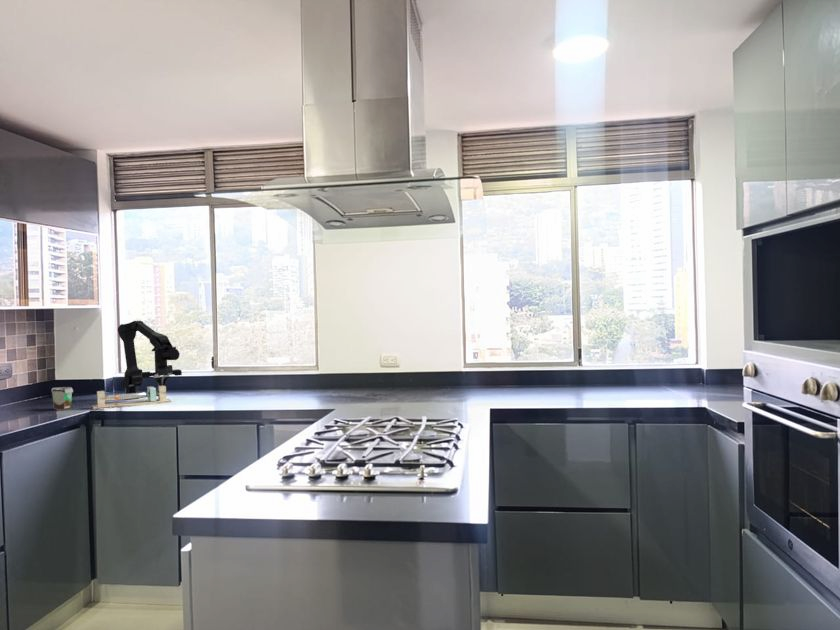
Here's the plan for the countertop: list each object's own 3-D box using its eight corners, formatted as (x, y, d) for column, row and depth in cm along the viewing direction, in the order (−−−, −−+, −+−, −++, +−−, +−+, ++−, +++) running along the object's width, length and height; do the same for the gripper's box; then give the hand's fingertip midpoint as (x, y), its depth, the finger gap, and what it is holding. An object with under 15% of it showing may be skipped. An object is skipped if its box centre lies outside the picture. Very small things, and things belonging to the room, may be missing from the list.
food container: (79, 408, 280) (78, 387, 280) (66, 410, 275) (65, 389, 275) (65, 406, 286) (64, 386, 286) (52, 408, 281) (51, 388, 281)
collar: (147, 398, 297) (147, 386, 297) (153, 398, 298) (152, 386, 298) (150, 401, 287) (150, 388, 287) (156, 400, 289) (155, 388, 288)
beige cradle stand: (92, 407, 281) (91, 391, 281) (168, 399, 299) (167, 384, 299) (93, 410, 273) (92, 393, 273) (171, 402, 291) (170, 386, 291)
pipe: (97, 401, 279) (97, 395, 279) (165, 395, 295) (164, 389, 295) (97, 402, 277) (97, 396, 277) (165, 395, 293) (165, 390, 293)
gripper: (142, 362, 287) (143, 394, 287) (183, 359, 296) (184, 390, 297) (140, 361, 296) (141, 391, 296) (179, 358, 306) (180, 388, 306)
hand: (161, 390), depth 298 cm, fingers closed
